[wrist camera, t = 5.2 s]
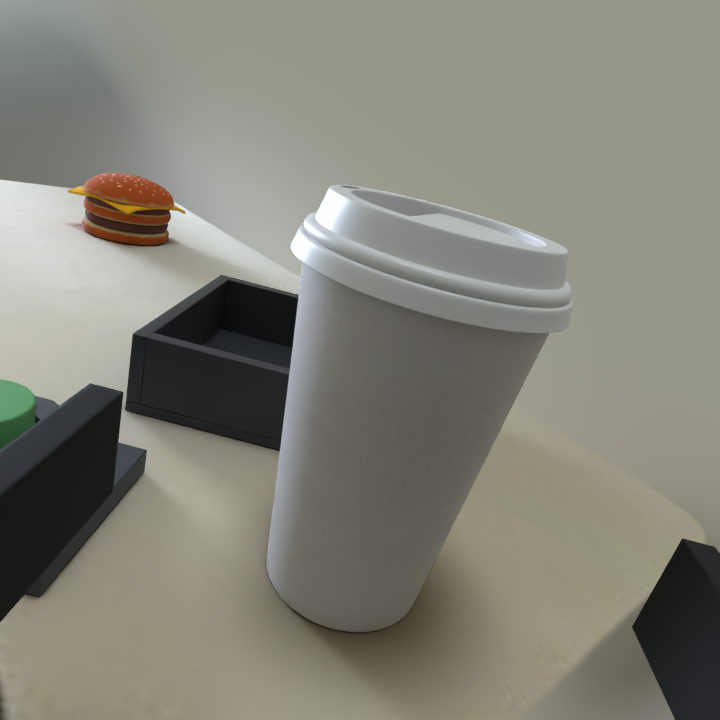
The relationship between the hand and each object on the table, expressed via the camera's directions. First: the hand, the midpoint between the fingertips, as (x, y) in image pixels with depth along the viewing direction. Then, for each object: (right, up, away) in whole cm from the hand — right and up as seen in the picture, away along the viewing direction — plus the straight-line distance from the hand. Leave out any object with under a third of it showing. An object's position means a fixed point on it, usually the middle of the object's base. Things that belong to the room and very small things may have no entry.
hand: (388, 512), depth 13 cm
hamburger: (-28, +18, +52) cm, 61 cm away
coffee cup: (-1, -5, +11) cm, 12 cm away
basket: (-6, +2, +25) cm, 25 cm away
